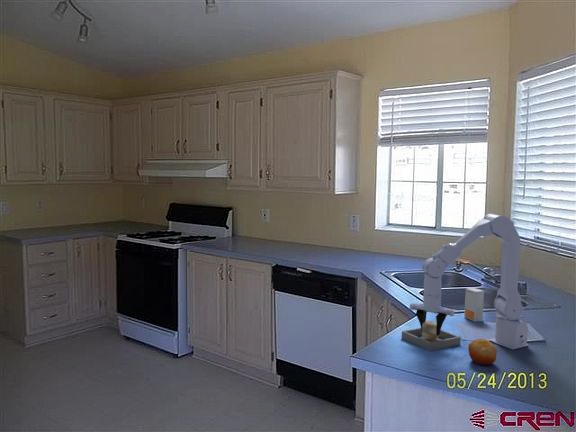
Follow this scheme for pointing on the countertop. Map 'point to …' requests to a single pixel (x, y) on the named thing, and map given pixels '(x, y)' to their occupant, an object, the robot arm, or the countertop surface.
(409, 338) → the low pen
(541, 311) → the countertop surface
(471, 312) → the skincare box
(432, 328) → the birch block
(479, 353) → the fruit
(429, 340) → the coaster
